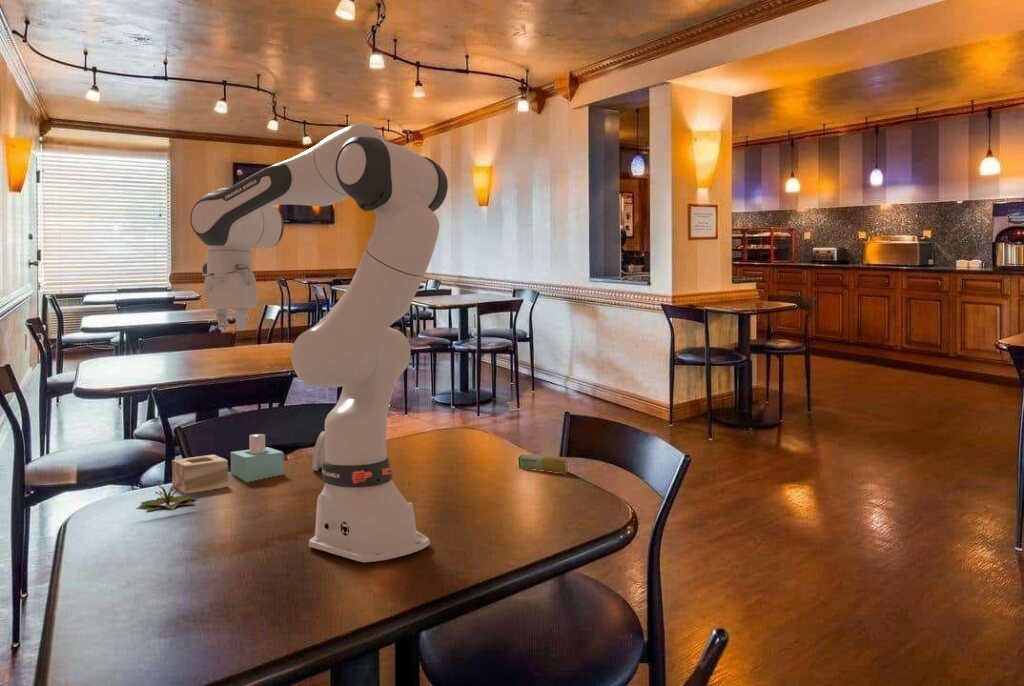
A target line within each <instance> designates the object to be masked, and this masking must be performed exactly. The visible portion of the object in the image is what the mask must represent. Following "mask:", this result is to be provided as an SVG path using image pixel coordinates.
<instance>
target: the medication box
mask: <svg viewBox="0 0 1024 686" xmlns="http://www.w3.org/2000/svg"><path fill="white" fill-rule="evenodd" d="M568 466H569V465H568V457H565V456H563V457H562V456H552V455H551V456H550V455H549V456H548V455H537V454H536V455H533V454H532V455H531V454H521V455H519V456H518V469H521V468H527V469H536V470H544V471H552V472H561V471H562V473H563V474H565V475H567V474H568V473H569V467H568ZM527 469H526V470H527ZM566 472H567V474H566ZM563 474H562V475H563Z"/></svg>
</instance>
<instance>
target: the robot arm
mask: <svg viewBox="0 0 1024 686" xmlns="http://www.w3.org/2000/svg"><path fill="white" fill-rule="evenodd" d="M448 184H449V183H448V178H447V175H446V172H445V171H444V169H443V168H442V167H441V166H440V165H439V164H438V163H436V162H435V161H434V160H432V159H430V158H429V157H427V156H422V155H421V154H419V153H416V152H415V151H412V150H410V149H408V148H407V147H405V146H403V145H399V144H398V143H393V142H390V141H386V140H385V138H384V136H383V135H382V134H381V133H380V132H379V130H377V129H376V128H375V127H373V126H371V125H369V124H366V123H361V122H360V123H354V124H351V125H349V126H346V127H344V128H342V129H340V130H337V131H336V132H334V133H332V134H330V135H328V136H327V137H324V138H323V139H322V140H321V141H320V142H318V143H316V144H315V145H314V146H312V147H311V148H309V149H307V150H305V151H303V152H301V153H299V154H297V155H295V156H293V157H292V158H291V157H290V158H289V159H287V160H284V161H281V162H278V163H275V164H273V165H271V166H268V167H265V168H262V169H260V170H259V171H257V172H255V173H254V174H251V175H249V176H248V177H247V178H244V179H243V180H240V181H239V182H237V183H235V184H233V185H232V186H230V187H224V188H223V187H221V188H218V189H216V190H214V191H212V192H209V193H206V194H204V195H203V196H202V197H201V198H199V199H198V200H197V201H196V202H195V204H194V206H193V207H192V209H191V212H190V225H191V226H190V227H192V230H193V233H194V234H195V235H196V237H197V238H198V239H200V241H201V242H203V243H204V244H205V246H206V245H207V246H208V247H207V258H206V261H205V262H204V264H203V265H202V266H201V274H202V276H204V281H203V282H204V297H205V304H206V306H207V309H208V310H214V311H215V317H216V320H217V327H218V330H219V331H229V328H230V326H229V324H230V322H229V321H228V316H227V315H228V310H235V314H236V318H235V321H234V330H236V331H246V327H247V326H246V322H247V318H248V316H249V309H255V308H256V307H257V304H258V290H257V289H258V288H257V282H256V281H257V280H256V276H255V274H254V272H253V256H252V255H253V254H252V248H253V249H269V248H271V249H272V248H273V247H275V246H276V245H278V243H279V242H280V241H281V240H282V238H283V235H284V233H285V232H284V231H285V223H284V217H283V215H282V213H281V211H280V210H279V209H278V208H277V207H276V206H279V205H280V206H281V205H290V206H291V205H297V206H298V205H299V206H309V207H328V206H332V205H335V204H337V203H341V202H342V201H345V200H347V199H349V198H352V199H353V200H354V201H355V203H356V204H357V206H358V208H359V209H360V210H362V211H363V212H371V211H373V212H374V214H375V219H376V220H375V221H376V222H375V227H374V230H373V233H372V234H371V237H370V239H369V241H368V244H367V246H366V248H365V250H364V253H363V255H362V258H361V260H360V262H359V264H358V266H357V268H356V271H355V273H354V275H353V277H352V280H351V281H350V283H349V285H348V287H347V288H346V290H345V292H344V293H343V295H342V296H341V297H340V298H339V299H338V301H337V302H336V303H335V305H333V306H332V307H331V309H330V310H329V311H328V312H327V313H326V314H325V315H324V317H323V318H322V319H320V320H319V321H318V322H317V323H316V324H315V325H313V326H312V327H310V328H308V329H306V331H303V332H301V334H299V335H298V337H297V338H296V340H295V341H294V343H293V346H292V349H291V359H290V360H291V363H292V364H291V366H292V367H293V370H294V372H295V374H296V376H297V377H298V378H299V380H300V381H302V383H304V384H306V385H309V386H315V387H321V388H329V389H331V388H332V389H334V388H341V387H342V390H341V394H340V395H339V399H338V400H337V403H336V404H335V406H334V407H333V408H332V409H331V410H330V411H329V412H328V414H327V415H326V417H325V419H324V431H325V461H324V462H323V468H321V471H322V472H321V474H322V481H323V482H324V485H323V488H322V491H321V492H320V494H319V495H318V497H317V498H316V499H317V500H316V511H315V513H316V514H315V530H314V536H313V537H311V538H310V539H309V540H308V547H310V548H313V549H316V550H318V551H319V550H320V551H324V552H326V553H329V554H333V555H335V556H341V557H343V558H346V559H349V560H353V561H356V562H361V563H371V562H372V563H373V562H379V561H387V560H391V559H395V558H398V557H403V556H407V555H411V554H412V553H415V552H418V551H421V550H423V549H425V548H426V547H428V546H429V545H430V544H431V543H430V539H429V537H427V536H426V535H425V534H423V533H421V532H419V531H418V530H417V527H416V525H417V524H416V518H415V508H414V504H413V502H409V501H407V499H406V498H405V497H404V496H403V494H402V493H401V491H400V490H399V488H398V487H397V486H396V485H395V483H394V481H393V480H392V479H393V478H394V477H393V474H395V472H394V471H392V470H394V469H395V467H393V466H392V464H391V463H390V460H389V457H388V456H387V428H388V427H387V423H388V421H387V420H388V413H389V408H390V403H391V399H392V396H393V394H394V390H395V387H396V384H397V382H398V380H399V379H400V377H401V375H402V374H403V373H404V372H405V370H406V369H407V368H408V366H409V364H410V362H411V361H410V360H411V357H412V356H411V353H412V352H411V350H412V349H411V346H410V343H409V340H408V338H407V337H406V335H405V334H404V333H403V332H402V331H401V330H398V329H396V328H394V327H393V328H392V327H391V326H392V325H393V324H394V323H395V322H398V320H400V319H401V318H402V317H404V316H405V315H406V314H407V313H408V311H409V310H410V307H411V305H412V303H413V301H414V299H415V296H416V294H417V292H418V290H419V287H420V285H421V283H422V281H423V279H424V276H425V274H426V272H427V270H428V267H429V265H430V262H431V259H432V256H433V253H434V252H435V248H436V244H437V240H438V235H439V231H440V220H439V219H438V216H437V215H436V213H435V211H437V210H438V209H439V208H441V206H442V204H443V203H444V202H445V200H446V196H447V194H448V189H449V188H448V187H449V185H448Z"/></svg>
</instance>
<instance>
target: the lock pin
mask: <svg viewBox="0 0 1024 686" xmlns="http://www.w3.org/2000/svg"><path fill="white" fill-rule="evenodd" d="M248 436H249V440H248V442H249V445H248V447H249V449H248V450H249V454H250V455H254V454H261V453H265V447H266V434H264V433H263V434H262V433H254V434H250V435H248Z"/></svg>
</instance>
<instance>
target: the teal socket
mask: <svg viewBox="0 0 1024 686" xmlns="http://www.w3.org/2000/svg"><path fill="white" fill-rule="evenodd" d="M284 459H285V458H284V452H283V451H281V450H278V449H275V448H272V447H267V446H265V453H261V454H254V455H250V454H249V449H245V450H244V449H242V450H236V451H230V474H232V475H233V476H235V477H236V478H238V479H239V480H240V481H241V480H242V481H243V482H245V483H246V482H248V483H250V482H249V481H252V482H255V481H254V480H257V481H259V480H258V479H261V480H264V479H263V478H265V479H268V477H270V478H273V477H272V476H274V477H278V476H283V475H284V474H285V468H284V467H285V465H284Z"/></svg>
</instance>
